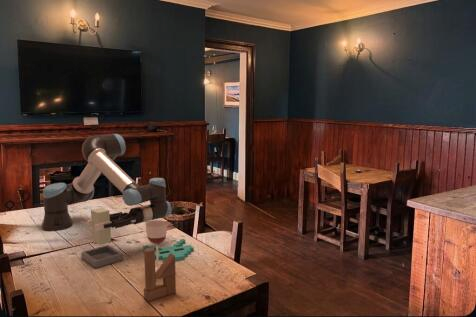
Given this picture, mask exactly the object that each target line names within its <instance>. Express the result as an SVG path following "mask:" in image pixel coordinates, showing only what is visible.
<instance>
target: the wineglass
mask: <svg viewBox="0 0 476 317" xmlns="http://www.w3.org/2000/svg"><path fill="white" fill-rule="evenodd" d="M167 230H168V222H167V221H166V220H159V219H155V220H150V221H147V222H145V231H146V236H147V239H148V241H149V242H150V243H152V244H154V245H155V247H156V255H157V260H156V266H155V272H156V271H157V270H158V269H159V267H160V265H159V264H160V262H159V261H160V260H159V258H158V247H159V244H162V243H163V242H164V241H165V240H166V237H167V233H168V232H167Z"/></svg>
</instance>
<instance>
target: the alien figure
mask: <svg viewBox="0 0 476 317" xmlns="http://www.w3.org/2000/svg"><path fill="white" fill-rule="evenodd" d="M186 241H187V240H186V239H185V238H181V239H179V241H176V243H173V245H170V246H166V247H165V246H164V247H161V246H158V258H159V261H161V260H162V261H163V262H164V261H165V259H166V258H167V257H168V255H169V254H170V253H172V254H173V255H175V262H179V261H183V260H186V258H189V256H190V255H191V254H192V253H193V252H195V249H194V248H195V247H194V246H193V245H191V244H187V245H185V244H186ZM146 248H154V249H155V261H157V255H156V246H155V245H151V246H149V245H148V244H145V245H142V249H143V251H144V250H145V249H146Z"/></svg>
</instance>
